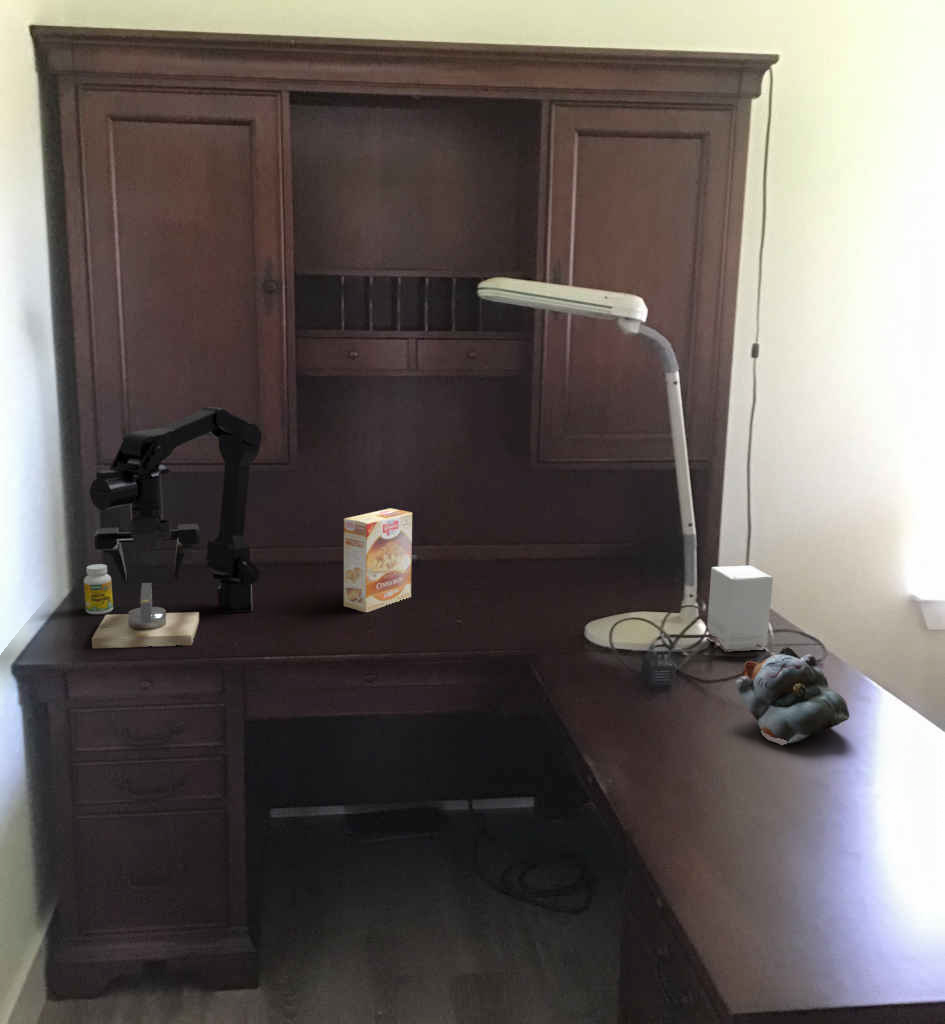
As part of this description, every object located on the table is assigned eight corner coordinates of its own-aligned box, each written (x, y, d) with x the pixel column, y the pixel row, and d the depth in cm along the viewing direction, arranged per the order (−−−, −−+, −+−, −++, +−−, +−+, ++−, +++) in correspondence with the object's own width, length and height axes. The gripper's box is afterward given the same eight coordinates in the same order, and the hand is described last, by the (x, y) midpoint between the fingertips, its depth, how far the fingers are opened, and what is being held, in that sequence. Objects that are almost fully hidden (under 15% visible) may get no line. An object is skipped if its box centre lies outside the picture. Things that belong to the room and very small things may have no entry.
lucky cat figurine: (768, 752, 152) (738, 662, 155) (749, 748, 164) (721, 665, 167) (863, 723, 153) (831, 634, 155) (837, 722, 165) (808, 639, 167)
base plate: (199, 621, 205) (198, 611, 205) (191, 645, 192) (191, 634, 191) (106, 624, 202) (105, 614, 202) (92, 648, 189) (91, 637, 188)
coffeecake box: (366, 613, 213) (366, 523, 209) (342, 606, 217) (341, 518, 213) (412, 597, 225) (413, 511, 220) (388, 591, 229) (389, 507, 225)
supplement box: (768, 651, 196) (775, 577, 193) (725, 653, 194) (731, 578, 191) (746, 635, 204) (752, 564, 201) (704, 638, 203) (710, 566, 199)
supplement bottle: (109, 605, 214) (107, 561, 212) (116, 612, 210) (113, 567, 208) (83, 609, 211) (80, 565, 209) (89, 616, 207) (86, 571, 205)
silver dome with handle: (129, 614, 202) (127, 583, 200) (166, 612, 204) (164, 581, 202) (127, 636, 190) (125, 602, 188) (166, 633, 192) (164, 600, 190)
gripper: (89, 512, 179) (95, 596, 183) (198, 507, 184) (202, 589, 188) (94, 498, 190) (100, 578, 193) (197, 494, 194) (201, 572, 198)
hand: (150, 579), depth 193 cm, fingers open, 9 cm apart
